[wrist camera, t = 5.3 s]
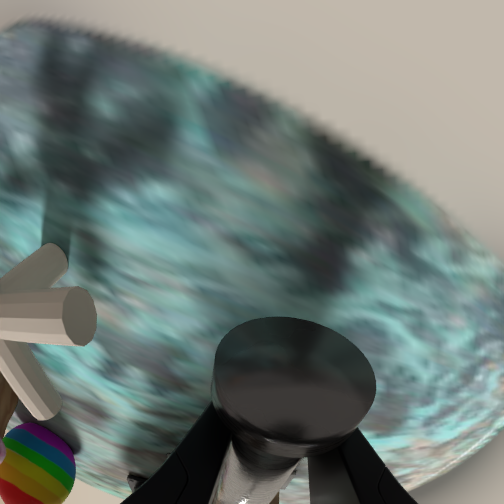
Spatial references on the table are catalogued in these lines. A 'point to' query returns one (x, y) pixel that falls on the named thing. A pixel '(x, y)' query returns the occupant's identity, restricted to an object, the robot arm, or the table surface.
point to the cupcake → (5, 410)
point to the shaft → (284, 401)
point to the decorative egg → (36, 467)
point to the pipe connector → (40, 325)
